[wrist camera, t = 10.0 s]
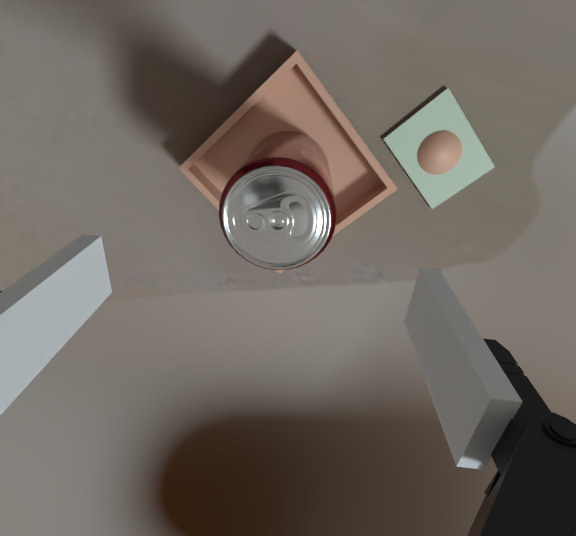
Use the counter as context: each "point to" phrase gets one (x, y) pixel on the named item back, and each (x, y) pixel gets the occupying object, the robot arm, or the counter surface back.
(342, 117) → the peach shallow tray
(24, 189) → the counter surface
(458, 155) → the tile
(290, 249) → the soda can
